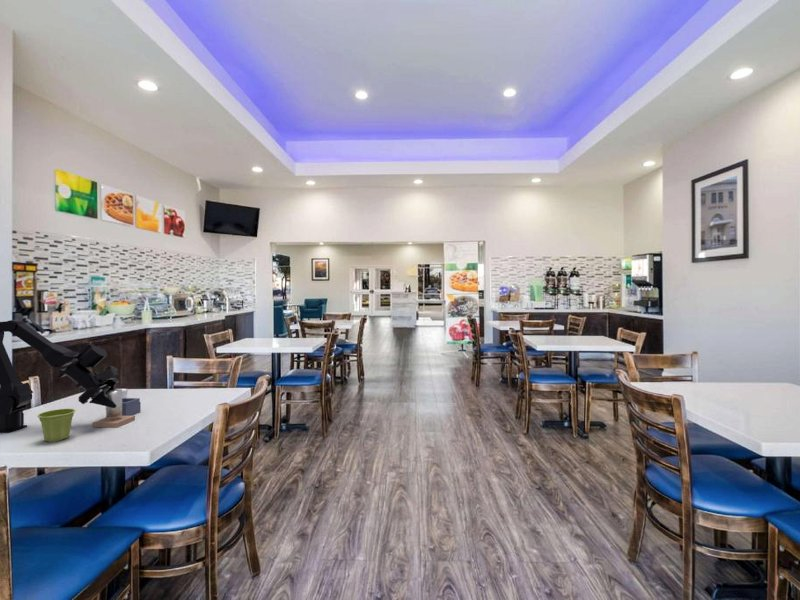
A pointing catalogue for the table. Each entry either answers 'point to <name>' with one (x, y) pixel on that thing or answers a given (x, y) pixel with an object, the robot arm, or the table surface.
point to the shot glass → (124, 393)
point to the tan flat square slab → (113, 421)
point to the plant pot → (56, 424)
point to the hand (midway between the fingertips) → (118, 405)
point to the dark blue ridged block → (130, 406)
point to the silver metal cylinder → (117, 399)
